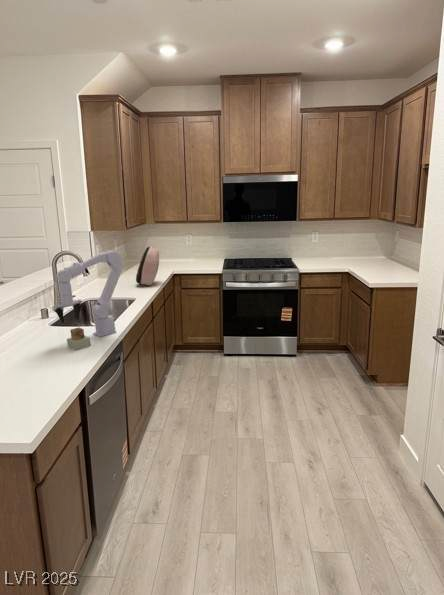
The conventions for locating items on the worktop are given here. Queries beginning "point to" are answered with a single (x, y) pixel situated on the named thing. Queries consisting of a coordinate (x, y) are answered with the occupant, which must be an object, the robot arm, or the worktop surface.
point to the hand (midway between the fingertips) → (69, 320)
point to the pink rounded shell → (148, 266)
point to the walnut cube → (77, 333)
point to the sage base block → (78, 343)
